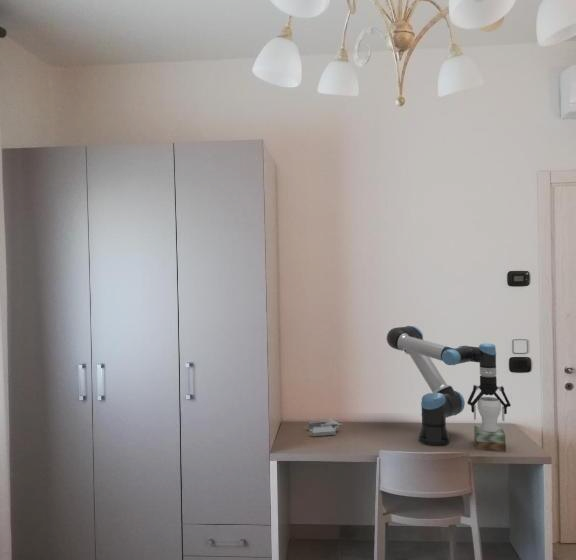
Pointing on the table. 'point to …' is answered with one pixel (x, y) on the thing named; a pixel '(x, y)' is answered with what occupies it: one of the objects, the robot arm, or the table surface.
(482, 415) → the cup
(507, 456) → the table surface
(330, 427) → the spaceship toy
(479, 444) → the tower base
